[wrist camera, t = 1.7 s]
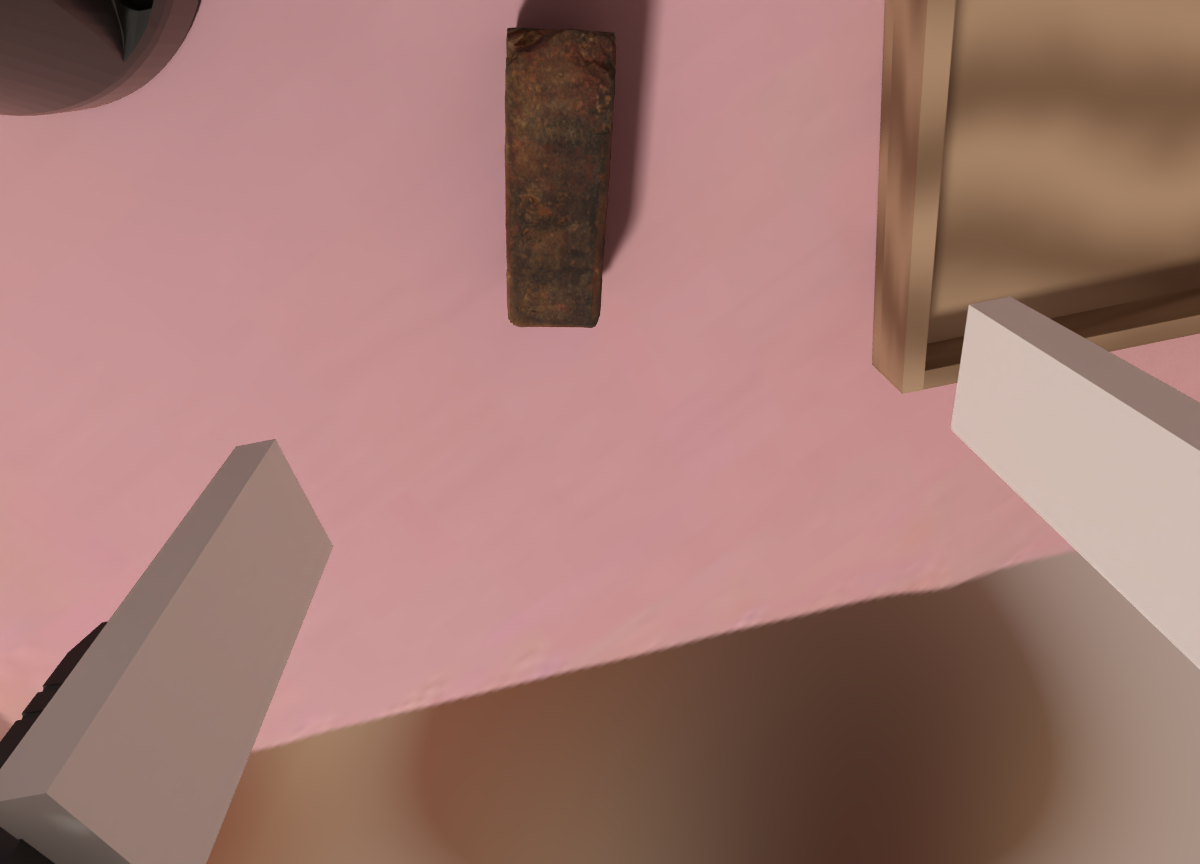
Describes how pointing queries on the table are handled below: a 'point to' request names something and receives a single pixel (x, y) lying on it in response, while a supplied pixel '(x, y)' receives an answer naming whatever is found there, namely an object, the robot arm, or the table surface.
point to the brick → (557, 173)
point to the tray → (1036, 173)
